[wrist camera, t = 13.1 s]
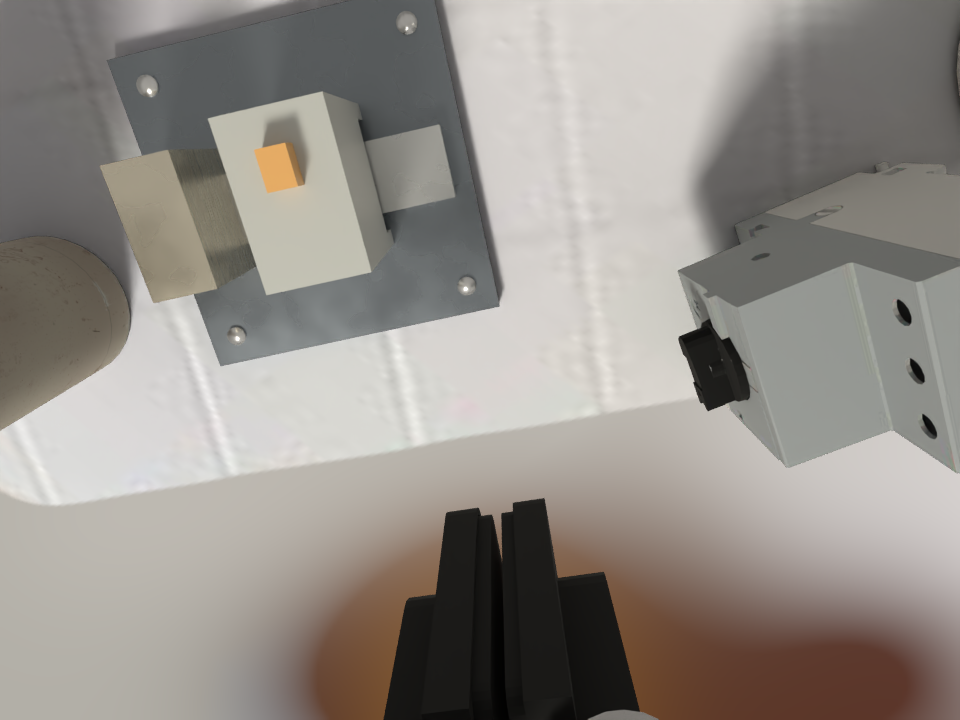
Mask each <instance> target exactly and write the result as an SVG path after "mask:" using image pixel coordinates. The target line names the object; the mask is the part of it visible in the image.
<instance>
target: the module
mask: <svg viewBox="0 0 960 720" xmlns="http://www.w3.org/2000/svg"><path fill="white" fill-rule="evenodd" d="M359 120H362V117H361V113H360V109H359V105H358V104H357V103H354V102H351V101H349V100H346V99H343V98H340V97H337V96H334V95H331V94H328V93H325V92H323V91H322V92H318V93H313V94H309V95H305V96H301V97H296V98H292V99H288V100H284V101H279V102H275V103H271V104H267V105H262V106H258V107H254V108H250V109H245V110H241V111H237V112H233V113H229V114H224V115H220V116H216V117H212V118H208V121H209V124H210V127H211V130H212V133H213V136H214V139H215V142H216V145H217V148H218V151H219V154H220V157H221V160H222V163H223V166H224V169H225V172H226V175H227V178H228V181H229V184H230V187H231V190H232V193H233V196H234V199H235V202H236V205H237V208H238V211H239V214H240V217H241V220H242V223H243V226H244V229H245V232H246V235H247V238H248V241H249V244H250V247H251V250H252V253H253V256H254V259H255V262H256V265H257V268H258V271H259V274H260V277H261V280H262V283H263V286H264V290H265V293H266V295H270V294H274V293H279V292H284V291H288V290H293V289H297V288H302V287H307V286H311V285H316V284H320V283H325V282H329V281H334V280H339V279H343V278H348V277H352V276H357V275H362V274H366V273H371V272H372V271H373V270H374V269H375V267H376V266H377V265H378V263H379V262H380V261H381V260H382V258H383V257H384V256H385V254H386V253H387V252H388V251H389V249H390V248H391V247H392V245H393V244H394V241H393V237H392V233H391V229H389V230H386V226H385V222H384V218H383V215H382V211H381V207H380V203H379V199H378V195H377V192H376V188H375V184H374V180H373V176H372V172H371V168H370V165H369V161H368V157H367V153H366V149H365V145H364V142H363V138H362V134H361V130H360V126H359V122H358V121H359Z"/></svg>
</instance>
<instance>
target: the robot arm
mask: <svg viewBox="0 0 960 720" xmlns="http://www.w3.org/2000/svg"><path fill="white" fill-rule="evenodd" d="M957 79H958V88H959V96H960V42H959V46H958V60H957ZM501 519H502V559H501V555H500V549H499V544H498V540H497V534H496V529H495V524H494V520H493V516H492V515H485V516H481V513H480V510H479V508H473V509H467V510H460V511H452V512H447V513H446V517H445V525H444V533H443V541H442V549H441V557H440V565H439V573H438V582H437V590H436V594H435V595H427V596H421V597H413V598H409V599H408V600H407V601H406V605H405V609H404V613H403V619H402V624H401V630H400V635H399V640H398V646H397V651H396V656H395V662H394V667H393V672H392V678H391V683H390V688H389V693H388V699H387V704H386V709H385V715H384V720H659V719H656V718H654V717H652V716H649V715H647V714H645V713H643V712H640V710H639V706H638V702H637V698H636V694H635V690H634V686H633V682H632V679H631V675H630V671H629V667H628V663H627V659H626V655H625V651H624V647H623V643H622V639H621V635H620V631H619V628H618V623H617V620H616V616H615V612H614V608H613V604H612V600H611V596H610V592H609V588H608V584H607V580H606V577H605V574H604V572H599V573H592V574H584V575H577V576H569V577H562V578H558V576H557V571H556V564H555V559H554V553H553V546H552V540H551V534H550V529H549V523H548V516H547V510H546V504H545V499H544V498H543V499H536V500H529V501H522V502H515V503H513V512H507V513H502V515H501Z"/></svg>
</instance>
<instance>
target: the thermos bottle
mask: <svg viewBox="0 0 960 720" xmlns="http://www.w3.org/2000/svg"><path fill="white" fill-rule="evenodd" d="M129 327H130V313H129V306H128V302H127V299H126V296H125V293H124V290H123V289H122V287H121V285H120V283H119V281H118V280H117V278H116V276H115V275H114V274H113V273H112V272H111V270H110V269H109V268H108V267H107V265H106V264H104V263H103V262H102V261H101V260H100V259H99V258H98V257H96V256H95V255H94V254H92V253H91V252H89V251H88V250H86V249H84V248H83V247H81V246H79V245H77V244H74V243H72V242H69V241H67V240H63V239H59V238H54V237H46V236H34V237H28V238H22V239H17V240H12V241H7V242H3V243H0V431H1V430H2V429H4V428H6V427H7V426H9V425H10V424H12V423H14V422H15V421H17V420H19V419H20V418H22V417H24V416H25V415H27V414H28V413H30V412H32V411H33V410H35V409H37V408H38V407H40V406H42V405H43V404H45V403H47V402H48V401H50V400H51V399H53V398H55V397H56V396H58V395H60V394H61V393H63V392H65V391H66V390H68V389H69V388H71V387H73V386H74V385H76V384H78V383H79V382H81V381H83V380H84V379H86V378H87V377H89V376H91V375H92V374H94V373H96V372H97V371H99V370H100V369H102V368H104V367H105V366H107V365H108V364H110V363H111V362H112V361H113V360H114V359H115V358H116V357H117V356H118V355H119V354H120V352H121V350H122V348H123V347H124V345H125V343H126V340H127V336H128V333H129Z"/></svg>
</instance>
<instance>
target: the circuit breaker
mask: <svg viewBox="0 0 960 720" xmlns="http://www.w3.org/2000/svg"><path fill="white" fill-rule="evenodd" d="M875 166H876V171H877V172H876V173H874V174H872V173H859V172H858V173H856V174H853V175H851V176H849V177H846V178H844V179H842V180H839V181H837V182H835V183H832V184H830V185H827V186H825V187H823V188H820V189H818V190H816V191H813V192H811V193H808V194H806V195H804V196H801V197H799V198H797V199H794V200H792V201H789V202H787V203H785V204H782V205H780V206H778V207H775V208H773V209H771V210H768V211H766V212H764V213H761V214H759V215H756V216H754V217H752V218H749V219H747V220H745V221H742V222H740V223H737V224H735V229H736V232H737V235H738V239H739V242H740V245H737V246H735V247H733V248H730V249H728V250H725V251H723V252H721V253H718V254H716V255H714V256H711V257H709V258H706V259H704V260H702V261H699V262H697V263H694V264H692V265H690V266H687V267H685V268H683V269H680V270H678V274H679V277H680V280H681V283H682V286H683V289H684V292H685V294H686V297H687V300H688V303H689V306H690V309H691V312H692V315H693V318H694V321H695V324H696V327H697V330H694V331H692V332H689V333H687V334H684V335H682V336H679V338H678V339H679V343H680V346H681V349H682V352H683V355H684V356H685V357H686V358H687V361H688V363H689V366H690V369H691V372H692V375H693V378H694V381H695V382H693V383H694V386H695V389H696V392H697V395H698V398H699V401H700V403H704V405H705V407H706V409H707V410H708V411H710V410H712V409H714V408H717V407H720V406H723V405H726V406H727V407H728V408H729V409H730V410H731V411H732V412H733V413H734V414H735V415H736V416H737V417H738V418H739V419H740V420H741V422H743V424H744V425H745V426H746V427H747V428H748V429H749V430H750V431H751V432H752V433H753V434H754V435H755V436H756V437H757V438H758V439H759V440H760V441H761V442H762V443H763V444H764V445H765V446H766V447H767V448H768V449H769V450H770V451H771V453H772V454H773V455H774V456H775V457H776V458H777V459H778V460H781V462H782V463H783V464H784V465H785V467H788V468H789V467H792V466H795V465H797V464H801V463H803V462H806V461H809V460H811V459H814V458H817V457H819V456H822V455H825V454H828V453H830V452H833V451H836V450H838V449H841V448H844V447H846V446H849V445H852V444H855V443H858V442H860V441H863V440H866V439H868V438H871V437H874V436H876V435H879V434H882V433H885V432H887V431H890V430H891V431H895V432H897V433H898V434H900V435H901V436H902V437H904V438H905V439H907V440H909V441H910V442H911V443H913V444H914V445H916V446H917V447H919V448H920V449H922V450H923V451H925V452H926V453H928V454H929V455H931V456H932V457H933V458H935V459H936V460H938V461H939V462H941V463H942V464H944V465H945V466H947V467H948V468H950V469H951V470H953V471H954V472H956V473H960V175H947V173H946V167H945V165H941V164H919V163H901V164H898V165H896V166H893V167H891V168H889V165H888V162H882V163H880V164H877V165H875Z"/></svg>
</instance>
